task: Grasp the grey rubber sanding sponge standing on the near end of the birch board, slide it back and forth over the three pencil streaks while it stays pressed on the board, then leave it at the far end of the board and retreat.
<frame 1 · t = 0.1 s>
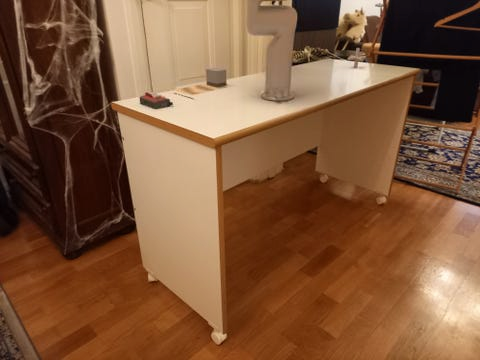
hand: (262, 4, 160), 31 cm above the table, fingers open, 9 cm apart
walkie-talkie: (153, 104, 130), on the table
board: (204, 91, 145), on the table
pipe connector: (355, 68, 189), on the table
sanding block: (216, 85, 148), point 1 cm above the table, touching board
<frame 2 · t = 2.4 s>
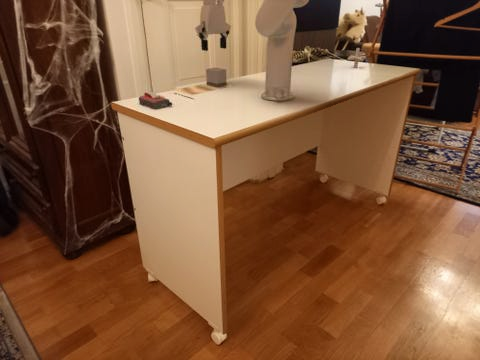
hand: (214, 49, 141), 16 cm above the table, fingers open, 9 cm apart
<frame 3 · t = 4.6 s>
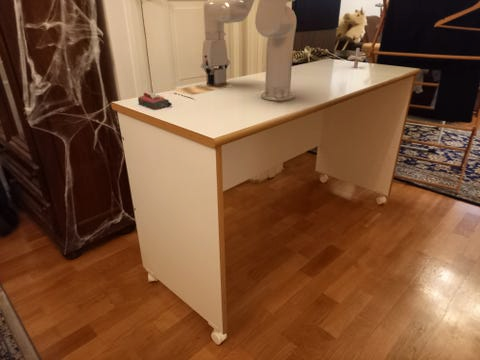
hand: (216, 82, 147), 3 cm above the table, fingers closed on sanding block, 5 cm apart
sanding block: (216, 85, 148), point 2 cm above the table, touching board, gripper
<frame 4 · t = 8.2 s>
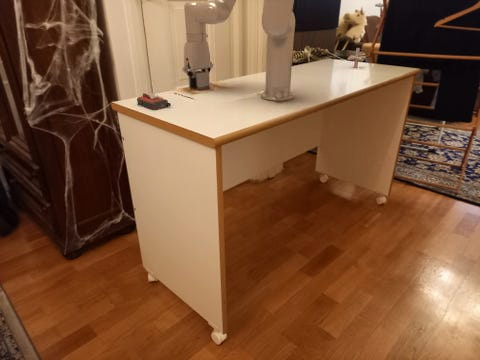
hand: (199, 86, 142), 3 cm above the table, fingers closed on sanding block, 5 cm apart
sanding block: (199, 88, 142), point 2 cm above the table, touching gripper
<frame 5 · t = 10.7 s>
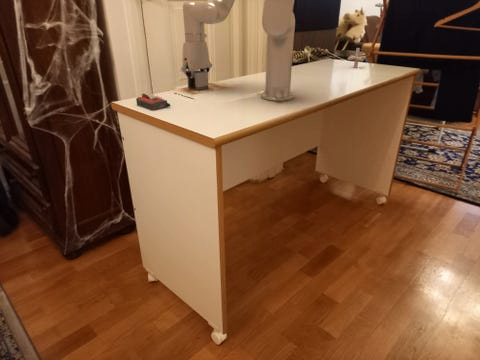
hand: (198, 86, 141), 3 cm above the table, fingers closed on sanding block, 5 cm apart
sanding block: (198, 88, 142), point 2 cm above the table, touching gripper
when the fingers open (3 cm above the table, at t = 12.4 s): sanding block stays where it is, resting on board.
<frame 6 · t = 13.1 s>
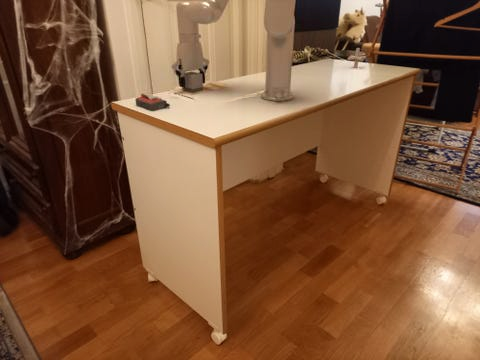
hand: (192, 84, 139), 4 cm above the table, fingers open, 9 cm apart
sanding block: (192, 90, 140), point 1 cm above the table, touching board
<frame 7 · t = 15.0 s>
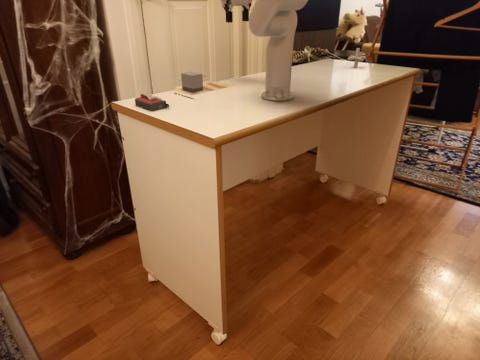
hand: (237, 21, 143), 25 cm above the table, fingers open, 9 cm apart
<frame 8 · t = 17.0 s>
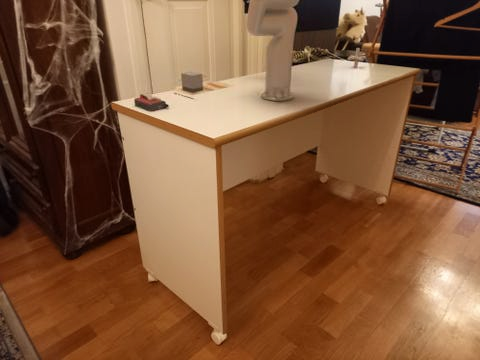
hand: (255, 13, 148), 28 cm above the table, fingers open, 9 cm apart
at the end: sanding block inside the target area on the board (0.9 cm from its centre), point 1.5 cm above the board's base; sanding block tilted 0°; the gripper is holding nothing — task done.
